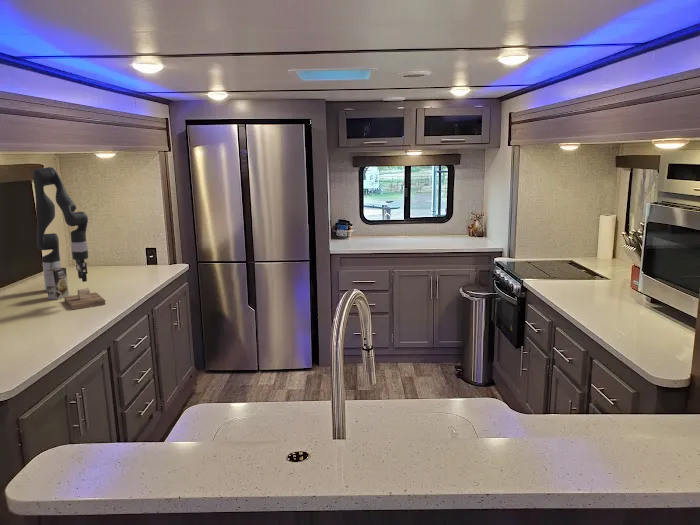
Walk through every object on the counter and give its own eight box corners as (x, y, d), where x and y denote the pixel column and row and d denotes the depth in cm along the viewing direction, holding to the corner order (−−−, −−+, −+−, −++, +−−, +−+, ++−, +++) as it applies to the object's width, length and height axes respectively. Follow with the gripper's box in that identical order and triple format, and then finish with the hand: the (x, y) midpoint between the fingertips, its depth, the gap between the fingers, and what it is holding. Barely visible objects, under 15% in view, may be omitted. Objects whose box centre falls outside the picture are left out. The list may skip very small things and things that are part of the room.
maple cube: (78, 298, 294) (77, 289, 293) (88, 296, 297) (87, 287, 296) (80, 300, 290) (79, 290, 289) (90, 298, 293) (89, 289, 292)
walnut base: (64, 301, 297) (64, 296, 297) (96, 296, 307) (95, 292, 306) (72, 309, 282) (71, 304, 281) (105, 304, 291) (105, 299, 291)
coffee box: (58, 299, 300) (54, 271, 297) (47, 299, 302) (44, 270, 298) (69, 295, 309) (66, 267, 306) (59, 294, 310) (56, 267, 307)
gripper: (69, 248, 292) (72, 278, 295) (74, 252, 281) (78, 283, 284) (84, 247, 296) (87, 276, 300) (90, 251, 285) (93, 281, 289)
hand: (82, 279), depth 292 cm, fingers open, 8 cm apart
